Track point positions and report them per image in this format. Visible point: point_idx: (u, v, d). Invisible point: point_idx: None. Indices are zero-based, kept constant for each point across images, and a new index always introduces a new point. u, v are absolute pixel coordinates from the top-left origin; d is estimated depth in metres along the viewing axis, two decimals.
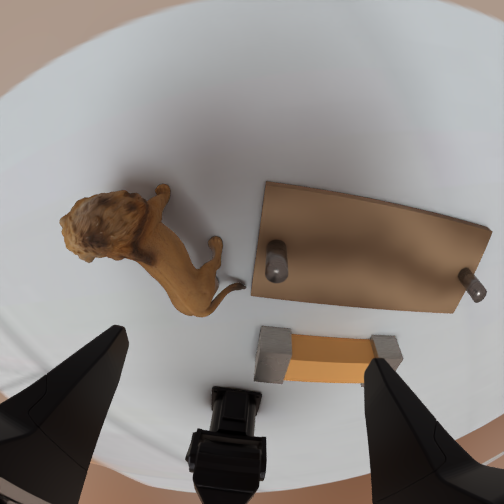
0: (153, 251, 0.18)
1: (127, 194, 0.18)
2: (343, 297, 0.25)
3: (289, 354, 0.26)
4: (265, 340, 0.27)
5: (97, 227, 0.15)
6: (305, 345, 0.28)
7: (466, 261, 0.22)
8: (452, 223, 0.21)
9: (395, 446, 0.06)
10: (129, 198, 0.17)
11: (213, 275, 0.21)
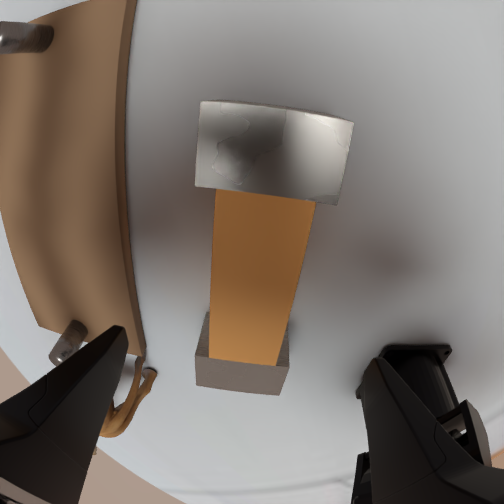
0: None
1: None
2: (108, 257, 0.15)
3: (195, 357, 0.15)
4: None
5: None
6: None
7: (25, 52, 0.09)
8: None
9: (395, 446, 0.06)
10: None
11: None
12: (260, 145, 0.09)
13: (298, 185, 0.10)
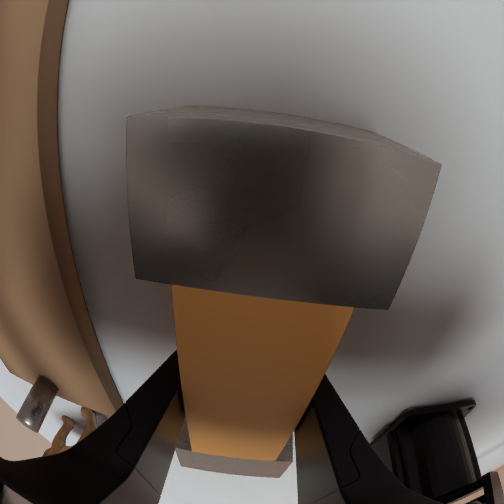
0: None
1: None
2: (61, 324, 0.10)
3: (176, 448, 0.10)
4: None
5: None
6: None
7: None
8: None
9: (312, 452, 0.06)
10: None
11: None
12: (252, 207, 0.04)
13: (326, 282, 0.05)
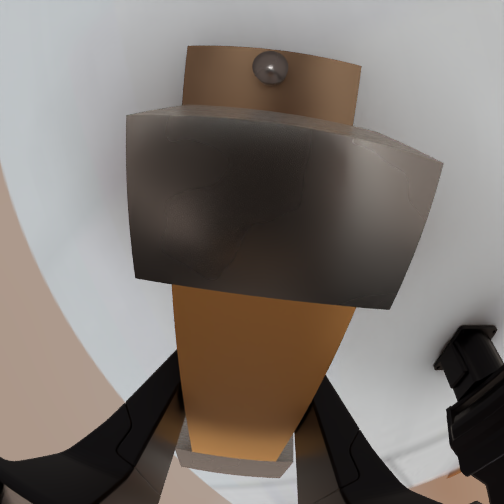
0: None
1: None
2: None
3: (176, 449, 0.10)
4: None
5: None
6: None
7: (245, 78, 0.14)
8: None
9: (311, 452, 0.06)
10: None
11: None
12: (252, 206, 0.04)
13: (327, 282, 0.05)
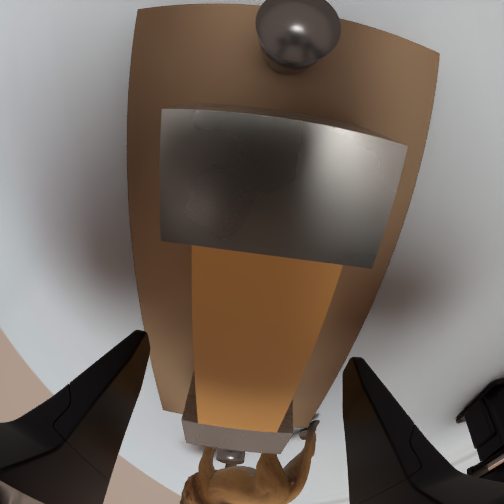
0: (220, 501, 0.16)
1: (187, 483, 0.19)
2: (328, 356, 0.13)
3: (183, 421, 0.11)
4: None
5: None
6: None
7: (239, 59, 0.07)
8: (133, 164, 0.09)
9: (370, 449, 0.06)
10: (184, 489, 0.18)
11: (265, 470, 0.16)
12: (259, 179, 0.06)
13: (318, 242, 0.06)
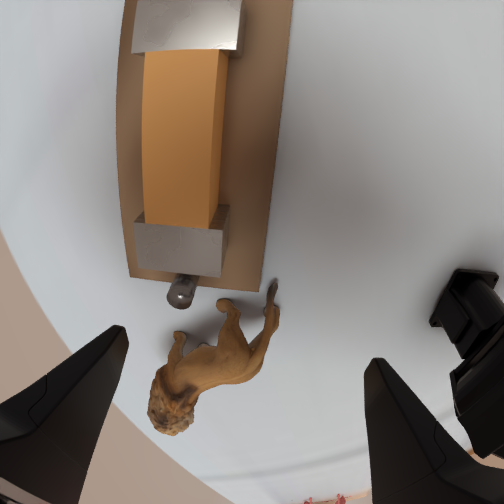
0: (184, 383, 0.20)
1: None
2: (256, 181, 0.17)
3: (134, 225, 0.15)
4: None
5: (154, 415, 0.19)
6: None
7: None
8: (122, 51, 0.13)
9: (395, 446, 0.06)
10: None
11: (225, 334, 0.20)
12: (175, 17, 0.10)
13: (203, 39, 0.10)
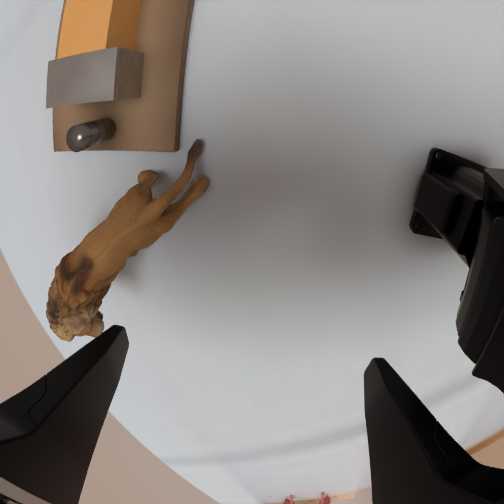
0: (80, 258, 0.15)
1: None
2: (169, 27, 0.13)
3: (49, 64, 0.11)
4: None
5: (48, 305, 0.15)
6: None
7: None
8: None
9: (395, 446, 0.06)
10: None
11: (129, 189, 0.15)
12: None
13: None
